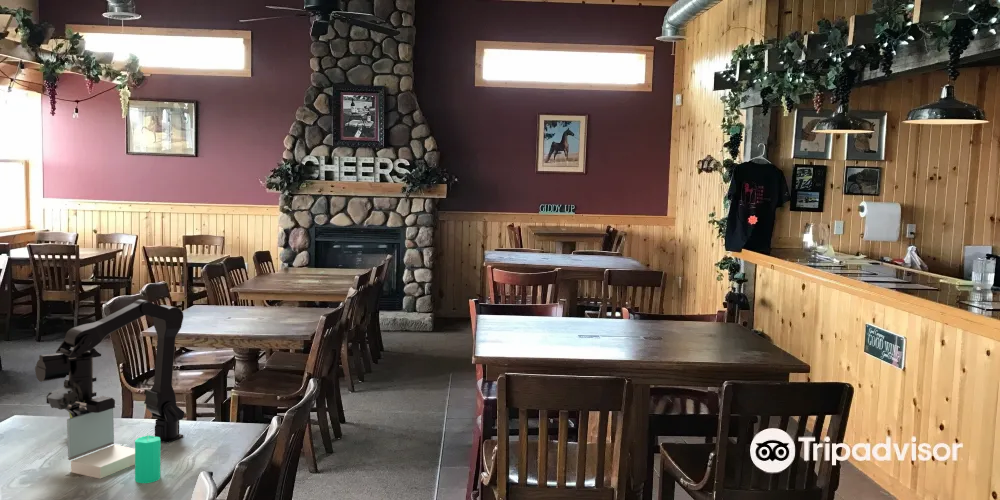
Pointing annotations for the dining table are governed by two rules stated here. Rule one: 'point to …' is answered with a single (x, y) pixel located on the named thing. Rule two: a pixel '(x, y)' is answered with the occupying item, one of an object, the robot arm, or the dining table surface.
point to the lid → (89, 433)
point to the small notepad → (104, 461)
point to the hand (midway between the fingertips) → (80, 431)
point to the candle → (147, 459)
